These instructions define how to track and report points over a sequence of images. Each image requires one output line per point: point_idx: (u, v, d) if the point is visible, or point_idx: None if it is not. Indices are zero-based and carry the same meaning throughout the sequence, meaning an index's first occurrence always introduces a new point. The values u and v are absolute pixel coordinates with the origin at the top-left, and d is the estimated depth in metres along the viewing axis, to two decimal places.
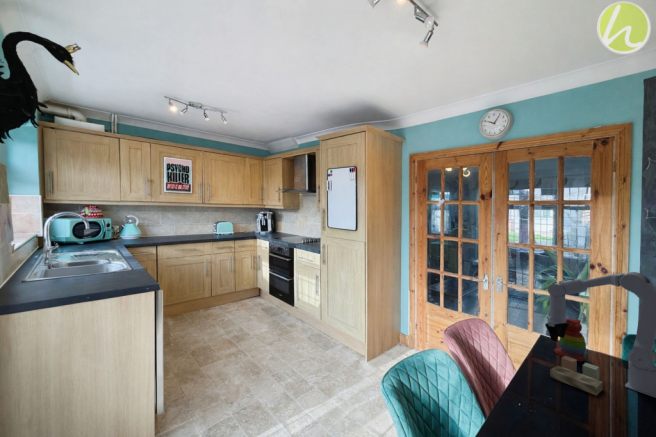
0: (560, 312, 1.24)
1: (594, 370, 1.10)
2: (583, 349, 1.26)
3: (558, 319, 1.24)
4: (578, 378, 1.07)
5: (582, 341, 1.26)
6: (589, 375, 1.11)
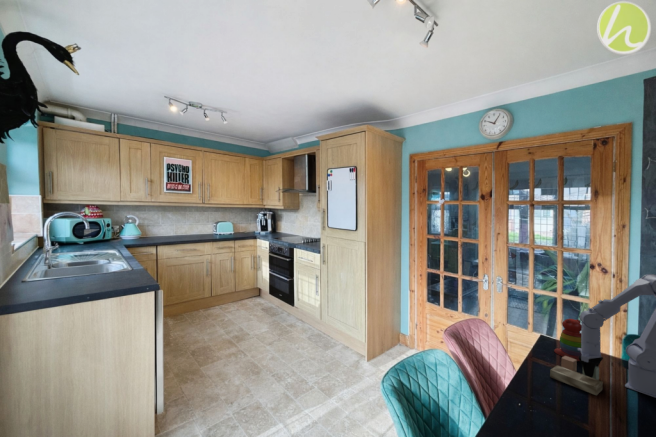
0: (595, 345, 1.10)
1: (594, 370, 1.10)
2: None
3: (592, 353, 1.10)
4: (578, 378, 1.07)
5: None
6: None
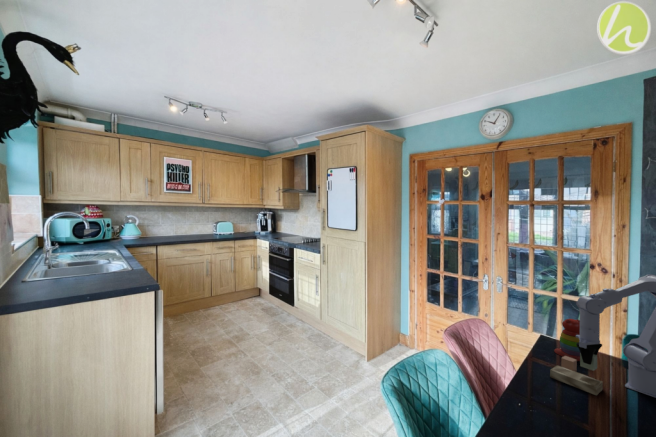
0: (593, 331, 1.06)
1: (592, 358, 1.06)
2: None
3: (591, 340, 1.06)
4: (578, 378, 1.07)
5: None
6: None
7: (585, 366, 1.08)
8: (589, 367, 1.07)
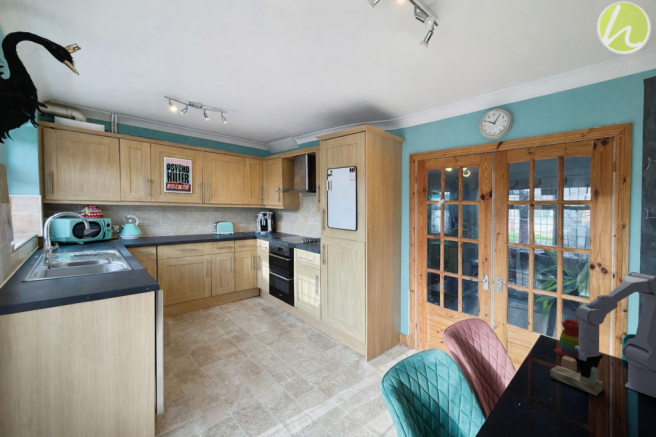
0: (593, 343, 1.03)
1: (592, 371, 1.03)
2: None
3: (590, 352, 1.03)
4: (578, 378, 1.07)
5: None
6: None
7: (585, 379, 1.05)
8: (588, 381, 1.04)
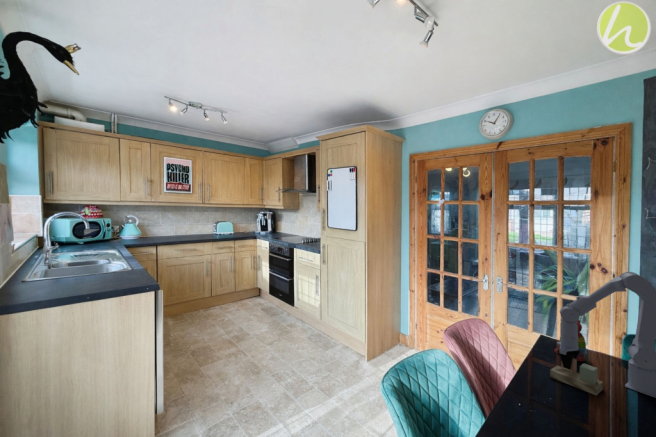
0: (572, 339, 1.16)
1: (592, 371, 1.03)
2: (583, 349, 1.26)
3: (570, 347, 1.16)
4: (578, 378, 1.07)
5: (582, 341, 1.26)
6: (587, 377, 1.04)
7: (585, 379, 1.05)
8: (588, 381, 1.04)
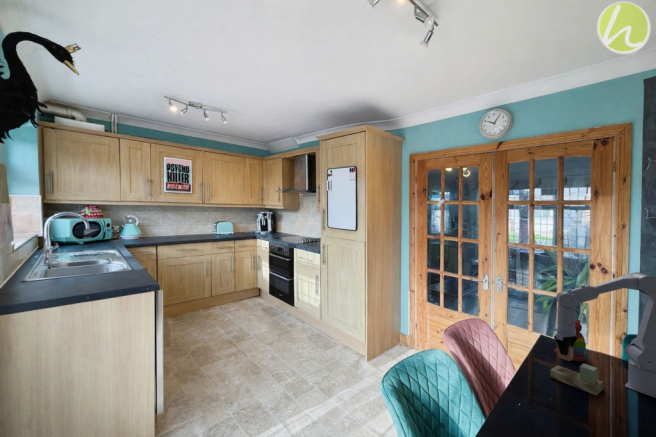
0: (569, 324, 1.13)
1: (592, 371, 1.03)
2: (583, 349, 1.26)
3: (567, 332, 1.13)
4: (578, 378, 1.07)
5: (582, 341, 1.26)
6: (587, 377, 1.04)
7: (585, 379, 1.05)
8: (588, 381, 1.04)
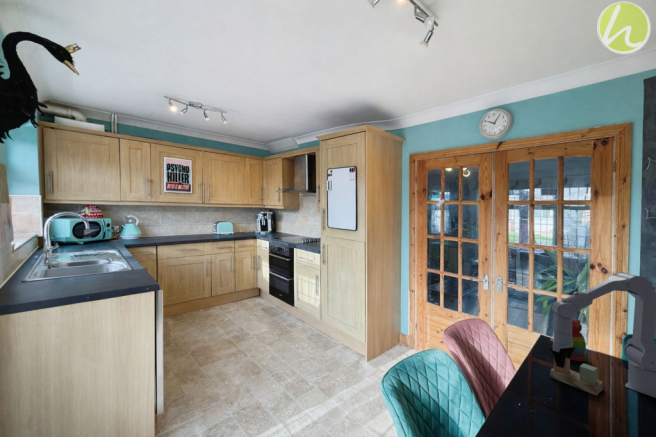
0: (566, 335, 1.10)
1: (592, 371, 1.03)
2: (583, 349, 1.26)
3: (564, 343, 1.10)
4: (578, 378, 1.07)
5: (582, 341, 1.26)
6: (587, 377, 1.04)
7: (585, 379, 1.05)
8: (588, 381, 1.04)
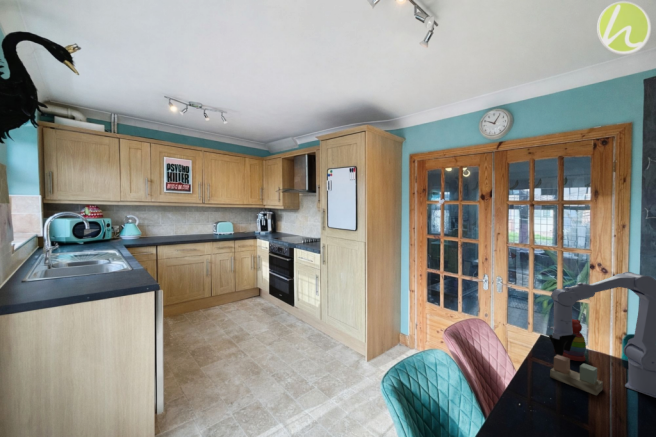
0: (566, 322, 1.10)
1: (592, 371, 1.03)
2: (583, 349, 1.26)
3: (564, 331, 1.10)
4: (578, 378, 1.07)
5: (582, 341, 1.26)
6: (587, 377, 1.04)
7: (585, 379, 1.05)
8: (588, 381, 1.04)
